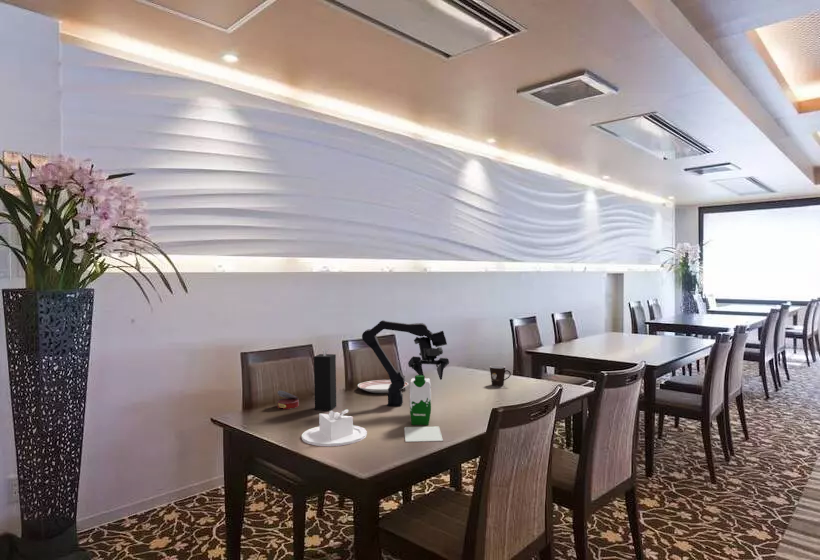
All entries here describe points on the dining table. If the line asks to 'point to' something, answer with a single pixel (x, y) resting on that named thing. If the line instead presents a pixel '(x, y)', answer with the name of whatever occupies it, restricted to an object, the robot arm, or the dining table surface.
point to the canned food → (287, 400)
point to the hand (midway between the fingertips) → (432, 379)
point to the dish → (334, 431)
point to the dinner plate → (377, 386)
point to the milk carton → (420, 400)
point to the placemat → (422, 434)
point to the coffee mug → (498, 375)
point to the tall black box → (325, 381)
